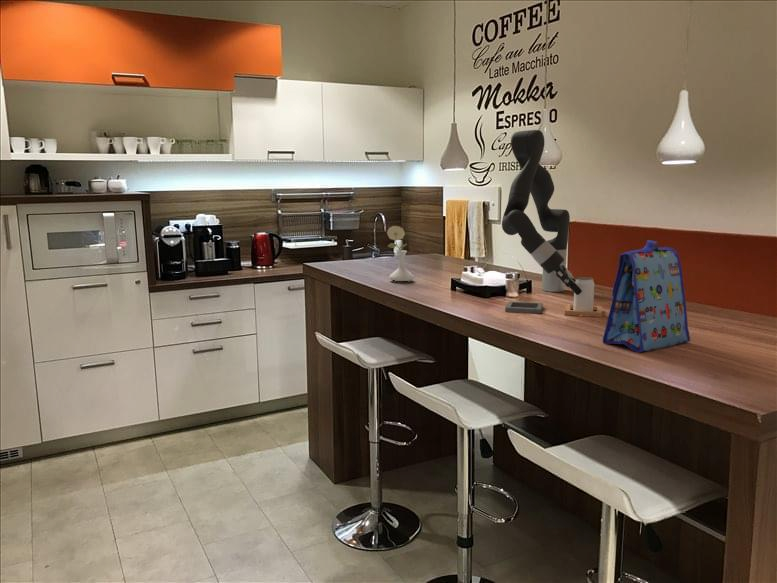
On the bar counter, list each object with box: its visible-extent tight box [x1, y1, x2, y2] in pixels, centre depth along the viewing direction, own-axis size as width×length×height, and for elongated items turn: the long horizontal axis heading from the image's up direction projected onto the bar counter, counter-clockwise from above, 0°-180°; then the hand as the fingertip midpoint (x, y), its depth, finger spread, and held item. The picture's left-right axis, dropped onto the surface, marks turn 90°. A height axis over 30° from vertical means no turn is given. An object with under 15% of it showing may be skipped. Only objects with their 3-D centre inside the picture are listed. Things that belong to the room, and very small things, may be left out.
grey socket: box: [504, 300, 544, 314], centre depth 229 cm, size 12×12×2 cm
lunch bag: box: [602, 239, 691, 353], centre depth 179 cm, size 22×14×29 cm, turn 123°
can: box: [573, 276, 595, 312], centre depth 222 cm, size 6×6×12 cm
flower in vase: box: [386, 225, 415, 282], centre depth 288 cm, size 13×11×25 cm
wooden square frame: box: [564, 303, 603, 318], centre depth 223 cm, size 12×12×2 cm
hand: (580, 291), depth 222 cm, fingers open, 8 cm apart
